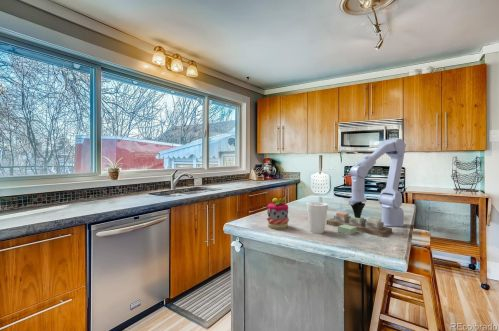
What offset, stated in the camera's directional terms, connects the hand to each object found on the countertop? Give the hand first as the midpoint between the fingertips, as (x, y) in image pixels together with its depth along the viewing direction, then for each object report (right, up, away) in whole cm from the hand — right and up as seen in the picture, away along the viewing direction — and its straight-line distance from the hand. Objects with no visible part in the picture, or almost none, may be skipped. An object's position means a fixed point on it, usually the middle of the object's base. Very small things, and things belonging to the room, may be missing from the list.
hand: (357, 217), depth 124 cm
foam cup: (-21, -6, -5) cm, 23 cm away
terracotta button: (-5, -2, +6) cm, 8 cm away
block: (-7, -5, -6) cm, 11 cm away
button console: (0, -5, 0) cm, 5 cm away
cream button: (+5, -2, -6) cm, 8 cm away
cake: (-39, -5, +3) cm, 39 cm away
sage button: (0, -3, 0) cm, 3 cm away
